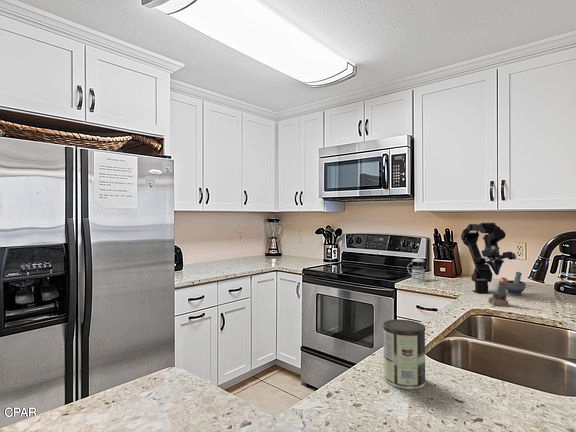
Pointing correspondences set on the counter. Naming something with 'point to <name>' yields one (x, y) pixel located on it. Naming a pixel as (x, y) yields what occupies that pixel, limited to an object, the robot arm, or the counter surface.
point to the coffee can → (404, 354)
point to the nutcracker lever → (501, 288)
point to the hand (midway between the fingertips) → (497, 274)
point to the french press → (422, 271)
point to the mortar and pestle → (516, 286)
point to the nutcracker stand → (498, 301)
